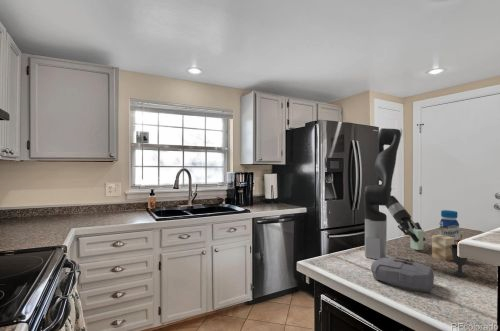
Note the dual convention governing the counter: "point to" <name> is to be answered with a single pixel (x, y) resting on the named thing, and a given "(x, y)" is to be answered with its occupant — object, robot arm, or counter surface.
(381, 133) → the robot arm
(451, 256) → the tower bottom
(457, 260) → the sundae
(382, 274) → the grey rounded bag
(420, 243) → the sage block
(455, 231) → the beverage bottle
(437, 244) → the tower top
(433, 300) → the counter surface
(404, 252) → the counter surface
